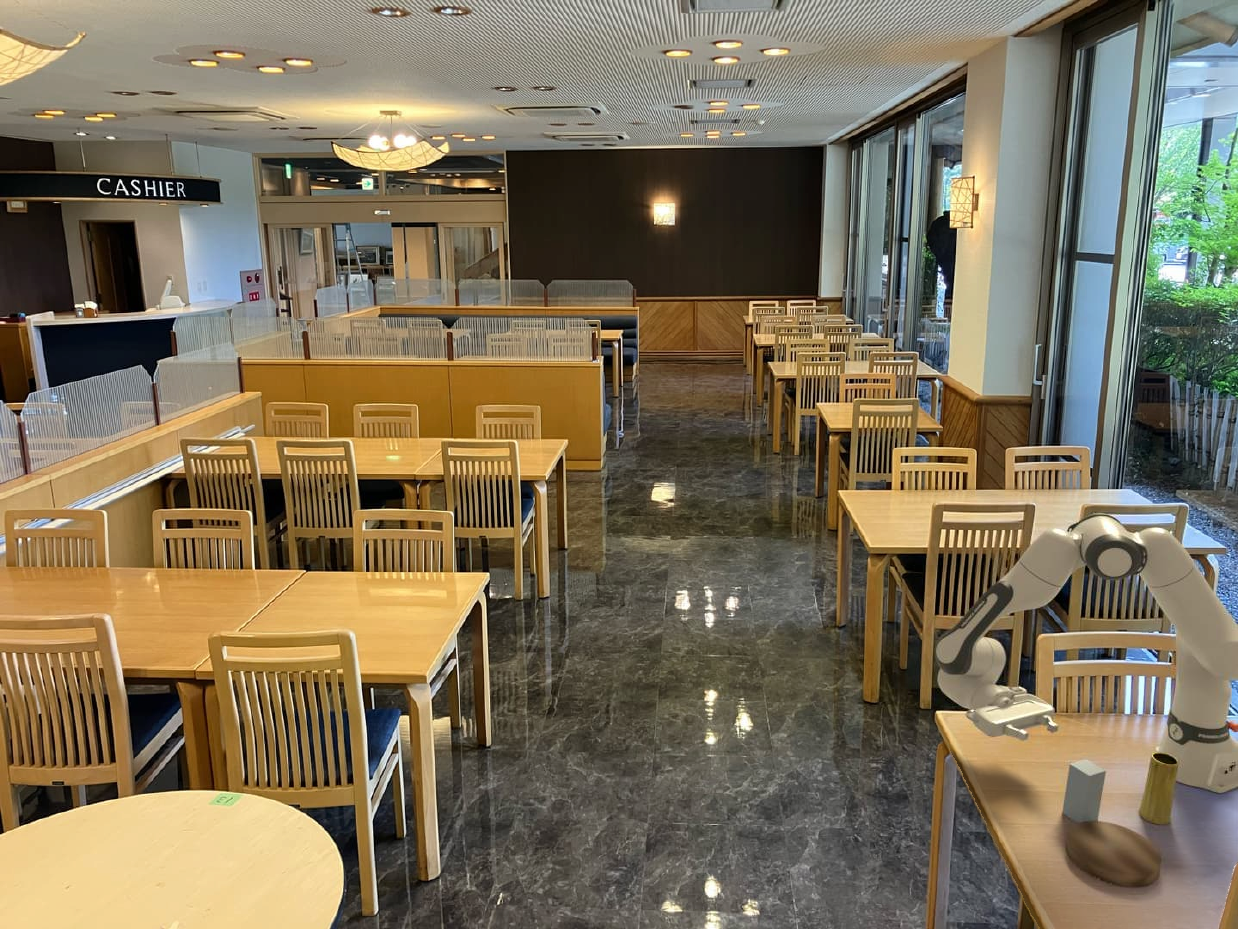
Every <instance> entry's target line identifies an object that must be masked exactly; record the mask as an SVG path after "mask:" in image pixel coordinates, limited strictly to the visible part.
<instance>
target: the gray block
mask: <svg viewBox="0 0 1238 929" xmlns="http://www.w3.org/2000/svg"><path fill="white" fill-rule="evenodd" d="M1106 772H1107V770H1105V768H1104V769H1103V767H1100V766H1099V765H1097V764H1095V763H1094V762H1092V761H1090V760H1089V759H1086V758H1085V759H1081V760H1079V761H1075V762H1071V763H1070V764H1069V768H1068V772H1067V773H1068V774H1067V780H1066V785H1065V786H1066V788H1065V792H1064V799H1063V807H1062V811H1061V812H1062V814H1064V816H1067V817H1068V818H1070V820H1072V821H1074V822H1075V823H1076V824H1078V823H1081V822H1086V821H1099V815H1100V814H1099V813H1100V809H1101V804H1102V802H1101V801H1102V796H1103V790H1104V785H1105V778H1106V774H1107V773H1106Z"/></svg>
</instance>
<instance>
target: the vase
mask: <svg viewBox="0 0 1238 929" xmlns="http://www.w3.org/2000/svg"><path fill="white" fill-rule="evenodd" d="M1178 765H1179V761H1178V759H1177V758H1175V757H1174V756H1172V755H1170V754H1167V753H1162V752H1155V751H1154V752H1152V753H1151V756H1150V761H1149V766H1148V771H1147V776H1146V782H1145V786H1144V791H1143V795H1142V798H1141V799H1142V800H1141V804H1140V807H1139V810H1138V814H1139V815H1140V817H1141V818H1142V819H1144V820H1146V821H1147V822H1148V823H1149V822H1150V823H1152V824H1155V825H1162V826H1163V825H1168V824H1170V822H1171V816H1172V809H1173V802H1174V796H1175V795H1174V794H1175V787H1176V782H1177V781H1176V775H1177V770H1178Z"/></svg>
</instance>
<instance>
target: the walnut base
mask: <svg viewBox="0 0 1238 929" xmlns="http://www.w3.org/2000/svg"><path fill="white" fill-rule="evenodd" d="M1065 846H1066V849H1065V850H1066V853H1067V855H1068V857H1069V859H1070V861H1072V862H1073V863H1074V865H1076V867H1077V868H1079V869H1080V870H1082V871H1083V872H1084V871H1085V872H1084V873H1086V872H1087V873H1088V875H1089V874H1090V875H1089V876H1091V877H1093V876H1094V877H1093V878H1095V877H1096V878H1095V879H1097V878H1099V879H1100V881H1102V882H1105V883H1107V884H1110V883H1112V884H1111V885H1114V884H1115V886H1118V885H1119V887H1125V888H1144V887H1148V886H1150V885H1152V884H1154V883H1155V882H1156V881H1157V880H1158V879H1159V877H1160V873H1161V866H1162V861H1163V860H1162V859H1163V858H1162V855H1161V852H1160V851H1159V849H1158V848H1157V846H1155V845H1154V843H1152V841H1150V840H1149V839H1148V838H1146V837H1145V836H1144V835H1141V834H1140V833H1139V832H1136V831H1134V830H1132V829H1130V828H1128V827H1125V826H1122V825H1119V824H1116V823H1112V822H1106V821H1099V820H1096V821H1086V822H1081V823H1076V824H1074V825H1072V827H1071V828H1070V829H1069V830H1068V834H1067V840H1066V845H1065ZM1087 873H1086V874H1087ZM1099 879H1098V880H1099Z"/></svg>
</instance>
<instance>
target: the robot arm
mask: <svg viewBox="0 0 1238 929" xmlns="http://www.w3.org/2000/svg"><path fill="white" fill-rule="evenodd" d="M1085 566H1087V567H1088V569H1089V570H1090V571H1091V572H1092V573H1093V574H1094V575H1095V576H1097V577H1099V578H1100V579H1102V580H1106V581H1120V580H1124V579H1126V578H1128V577H1129V578H1130V577H1131V576H1135V575H1139V576H1140V577H1141V579H1142V580H1143V582H1144V584H1145V585H1146V587H1147V588H1148V590H1149V591H1150V593H1151V595H1152V596H1153V598H1154V599H1155V601H1156V602H1157V604H1158V605H1159V607H1160V609H1161V611H1162V612H1163V613H1164V615H1165V616H1166V618H1168V620H1169V621H1170V623H1171V624H1172V626H1173V627H1174V632H1175V637H1176V638H1175V643H1176V644H1175V646H1176V651H1175V652H1176V654H1175V655H1176V684H1175V690H1174V695H1173V700H1172V706H1171V708H1169V711H1168V714H1167V720H1166V725H1165V727H1164V729H1163V733H1162V736H1161V739H1160V742H1159V746H1156V747H1155V750H1154V753H1155V752H1162V753H1167V754H1170V755H1172V756H1174V757H1175V758H1177V759H1178V761H1179V765H1178V770H1177V775H1176V781H1175V782H1178V783H1180V784H1184V785H1186V786H1191V787H1196V788H1201V789H1204V790H1208V791H1211V792H1215V793H1218V794H1223V793H1225V792H1229V791H1230V790H1234V789H1236V788H1238V741H1237V740H1236V739H1235V738H1234V737H1233V736H1231V734H1230V730H1231V731H1232V732H1233V733H1238V723H1236V722H1235V721H1233V720H1230V721H1228V715H1229V709H1230V705H1231V700H1232V695H1233V694H1232V693H1233V692H1232V686H1231V682H1230V681H1238V624H1237V622H1236V620H1235V619H1234V618H1233V617H1232V615H1231V614H1230V612H1229V611H1228V609H1227V608H1226V606H1225V605H1224V604H1223V603H1222V601H1221V600H1220V599H1219V597H1218V596H1217V595H1216V593H1215V591H1213V589H1212V587H1211V586H1210V584H1209V583H1208V581H1207V580H1206V578H1205V577H1204V575H1203V574H1202V572H1201V571H1200V569H1199V567H1198V566H1197V564H1196V562H1195V561H1194V559H1193V558H1192V556H1191V555H1190V554H1189V552H1188V551H1187V550H1186V548H1185V547H1184V546H1183V545H1182V543H1180V541H1178V539H1177V538H1176V537H1175V536H1174V535H1173V534H1172V533H1171V532H1170V531H1169V530H1167V529H1165V528H1163V527H1149V528H1146V529H1143V530H1141V531H1138V532H1129V531H1128V530H1126V528H1125V526H1123V524H1122V523H1121V521H1120V520H1118V519H1117V518H1116V517H1114V516H1113V515H1111V514H1108V513H1104V512H1095V513H1091V514H1088V515H1086V516H1084V517H1083V518H1081V519H1080V520H1079V521H1076V522H1075V523H1073V524H1071V525H1069V526H1068V528H1067V530H1064V529H1062V528H1061V529H1060V528H1053V527H1052V528H1049V529H1046V530H1044V531H1043V532H1042V533H1041V534H1040V535H1039V536H1038V537H1037V538H1036V539H1035V540H1034V541H1033V542H1032V543H1031V544H1030V545H1029V546H1028V547H1027V548H1026V550H1025V551H1024V553H1023V554H1022V555H1021V557H1020V558H1019V559H1018V561H1017V562H1016V563H1015V565H1014V566H1012V568H1011V569H1010V570H1009V571H1008V572H1007V573H1006V574H1005V575H1004V576H1003V577H1002V578H1001V579H999V580H998V581H997V582H995V583H993V585H991V586H990V587H989V588H987V590H986V591H985V592H984V593H983V594H982V595H981V596H980V597H979V598H978V599H977V600H976V602H974V604H973V605H972V606H971V607H970V609H969V610H968V611H967V612H966V613H965V614H964V616H962V618H961V619H960V620H959V621H958V622H957V623H956V624H955V625H954V626H953V627H952V628H950V629H948V630H947V631H945V632H944V633H943V634H941V635H940V637H939V638H938V639H937V641H936V644H935V648H934V656H935V660H936V662H937V665H938V667H939V668H940V669H939V671H938V674H937V684H938V687H939V688H940V690H941V692H942V693H943V694H944V695H945V696H946V697H948V698H949V699H951V701H953V702H954V703H956V704H958V705H959V706H960V707H962V708H965V709H967V711H966V712H965V717H966V718H967V719H968V720H969V721H971V722H972V724H973V726H975V727H976V728H977V729H978V730H979V731H980V732H982V733H983V734H984V735H985V736H987V737H990V738H997V737H1002V736H1005V735H1006V736H1008V737H1011V738H1014V739H1017V740H1020V741H1022V742H1023V741H1027V740H1029V735H1030V734H1029V733H1028V732H1027V731H1025V730H1028V729H1032V728H1036V727H1040V726H1042V725H1043V727H1045V726H1046V728H1047V729H1046V731H1048V732H1050V734H1051V733H1052V734H1054V733H1058V732H1059V724H1057V723H1055V722H1054V717H1055V708H1054V706H1052V705H1051V704H1050V703H1048V702H1047V701H1046V700H1043V699H1042V698H1040V697H1038V696H1036V695H1034V694H1031V693H1028V691H1027V689H1025V688H1024V687H1021V686H1004V685H997V684H996V683H997V682H998V681H999V679H1000V677H1001V675H1002V673H1003V671H1004V669H1005V667H1006V663H1007V654H1006V650H1005V648H1004V646H1003V645H1002V643H1001V642H1000V641H998V640H997V639H995V638H992V637H986V636H985V635H986V634H987V633H988V632H989V630H991V628H992V627H993V626H994V625H995V624H996V622H998V621H999V620H1000V619H1002V618H1003V617H1005V616H1007V615H1009V614H1013V613H1017V612H1020V611H1027V610H1035V609H1039V608H1042V607H1044V606H1047V604H1049V603H1050V602H1052V600H1054V598H1055V597H1056V596H1057V595H1058V594H1059V593H1060V591H1061V589H1063V587H1064V586H1065V584H1066V583H1067V581H1068V580H1069V577H1070V576H1071V575H1073V574H1074V572H1076V571H1077V570H1078V569H1080V568H1083V567H1085Z"/></svg>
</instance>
